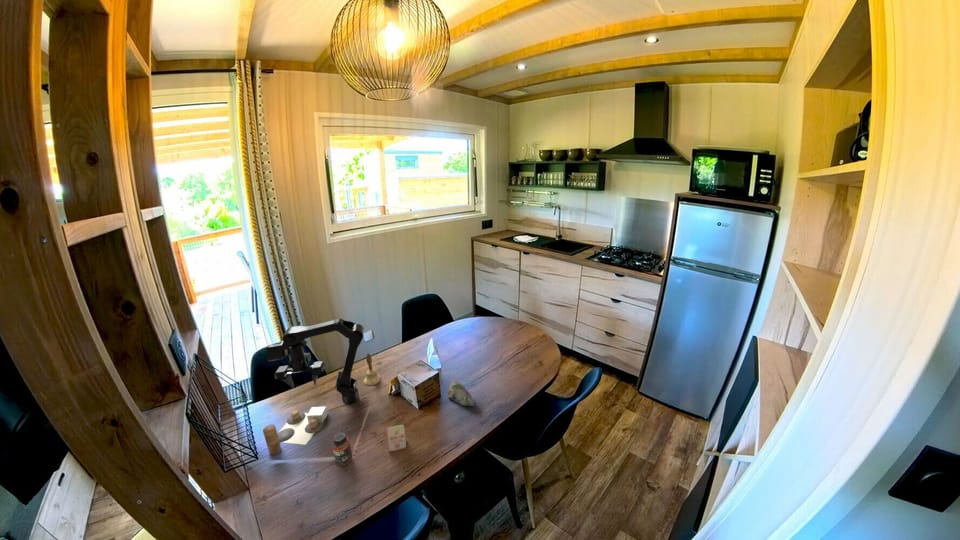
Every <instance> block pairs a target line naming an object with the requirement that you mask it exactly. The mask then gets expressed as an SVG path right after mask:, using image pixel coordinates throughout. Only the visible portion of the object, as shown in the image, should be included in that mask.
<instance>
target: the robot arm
mask: <svg viewBox="0 0 960 540" xmlns="http://www.w3.org/2000/svg"><path fill="white" fill-rule="evenodd" d="M364 329H365V328H364V326H363V325H362V324H359V323H355V322H353V321H350V320H344V319H343V318H340V317H339V318H335V319H332V320H329V321H325V322H321V323H316V324H312V325H307V326H304V325H297V326H295V325H293V326H290V327H288V328H287V329H286V331H285V332H284V334H283V336H282V341H281V343H275V344H267V346H266V353H265V354H266V357H265V358H266V361H268V362H274V361H279V360H284V359H285V358H286V357H287V356H288V357H289V362H288V363H289V365H288V364H287V365H281V366H279V367H278V368H277V370H276V371H275V373H274V379H275V380H279V381H282V382H284V383H286V385H288V386H289V387H290V388H292V389H294V388H295V384H294V383H295V382H294V380H293V377H292V374H296V373H301V372H310V371H311V377H312V381H313V384H314V385H315V386H316V385H317V382H318V377H319V375H321V374H323V372H324V370H325V368H326V363H325V361H324V360H322V361H321V360H320V361H314V362H313V364H311V365H309V364H310V361H311V359H312V358H311V357H312V356H311V352H305V351H304V347H307V344H308V341H307V339H309V338H312V337H317V336H320V335H321V336H322V335H324V334H329V333H332V332H337V333H339V334H341V335H342V336H343V337H345V338H346V339H348V347H347V352H346V357H345V361H344V365H343V367H342V368H343V369H342V370H341V371H338V372H337V377H336V380H335V386H334V388H336V391H337V392H338V393H340V394H341V399H342V402H343V403H345V404H346V405H352V404H356V403H357V402H358V401H359V399H360V393H359V389H358V388H357V383H358V382H357V380H356V379H354V378H353V377H352V371H353V367H354V363H355V359H356V355H357V351H358V348H359V346H360V344H361V343H362V341H363V338H364V331H365V330H364ZM290 366H291V367H290Z"/></svg>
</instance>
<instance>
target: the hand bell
mask: <svg viewBox="0 0 960 540" xmlns="http://www.w3.org/2000/svg"><path fill="white" fill-rule="evenodd" d="M365 360H366V363H367V367H368V370H367V371H366V376H365V378H364V379H363V384H364V385H366V386H374V385H376V384H378V383H379V382H380V381H381V376H380V375H379V374H377V371H376V369H375V368H373V366H372V364H373V363H372V361H373V359H372V356H371V354H370V353H369V352H367V354H366V357H365Z"/></svg>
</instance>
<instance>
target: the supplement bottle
mask: <svg viewBox="0 0 960 540" xmlns="http://www.w3.org/2000/svg"><path fill="white" fill-rule="evenodd" d="M331 447H332V450H333V451H332V452H333V456H334V460H335V464H336V465H337V466H341V467H343V466H346V465H347V464H349V463H350V462H351V460H352V458H353V453H352V446H351V442H350V438H349V437H348V436H346V434H345V433H344V432H339V433H336V434H335V435H334V437H333V441H332V443H331Z"/></svg>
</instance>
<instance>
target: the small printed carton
mask: <svg viewBox="0 0 960 540" xmlns="http://www.w3.org/2000/svg"><path fill="white" fill-rule="evenodd" d="M385 434H386V444H387V450H388V451H387V452H388V453H389V452H394V451H395V452H396V451H398V450H405V449H407V443H406V442H407V441H406V431H405V424H399V425H394V426H389V427H385Z"/></svg>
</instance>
